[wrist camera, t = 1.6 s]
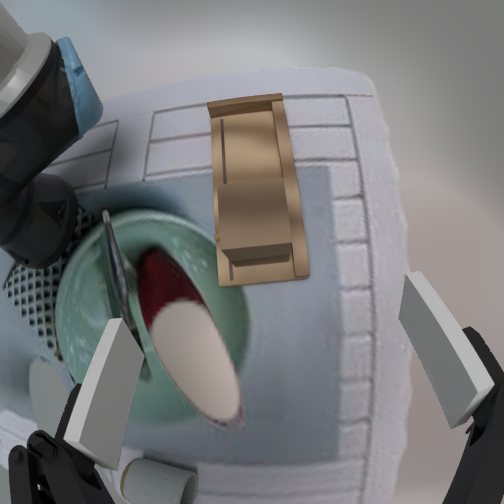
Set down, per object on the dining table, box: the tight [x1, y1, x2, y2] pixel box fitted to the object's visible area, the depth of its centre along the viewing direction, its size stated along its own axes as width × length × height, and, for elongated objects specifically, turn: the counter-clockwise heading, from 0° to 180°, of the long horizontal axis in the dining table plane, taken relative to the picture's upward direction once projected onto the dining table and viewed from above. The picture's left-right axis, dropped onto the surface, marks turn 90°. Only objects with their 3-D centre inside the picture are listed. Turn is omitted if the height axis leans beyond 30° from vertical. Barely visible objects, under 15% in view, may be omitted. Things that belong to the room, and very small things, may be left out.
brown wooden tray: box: [207, 93, 310, 287], centre depth 36 cm, size 24×10×4 cm, turn 5°
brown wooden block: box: [215, 178, 292, 267], centre depth 31 cm, size 6×8×9 cm
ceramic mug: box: [120, 458, 197, 504], centre depth 27 cm, size 11×8×8 cm
